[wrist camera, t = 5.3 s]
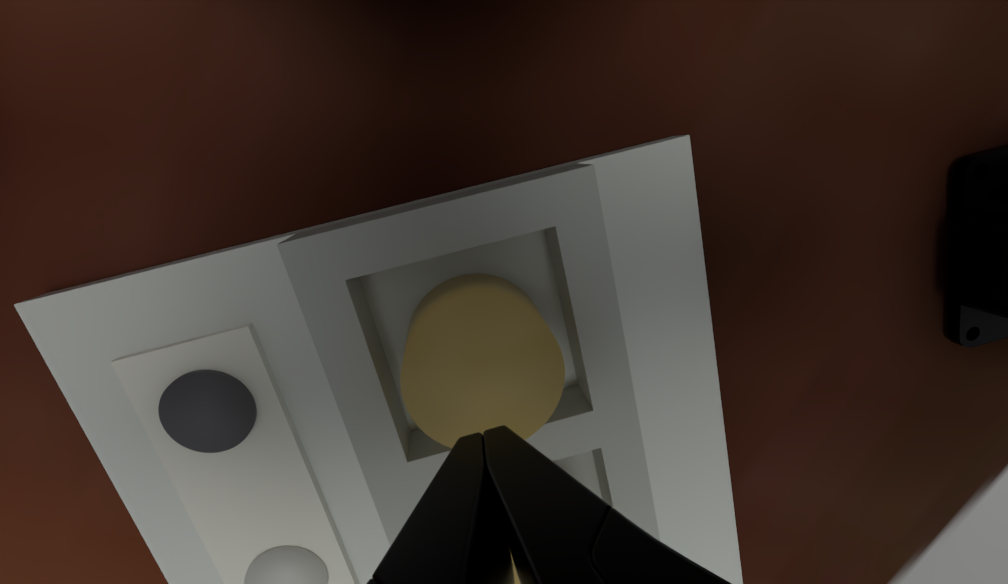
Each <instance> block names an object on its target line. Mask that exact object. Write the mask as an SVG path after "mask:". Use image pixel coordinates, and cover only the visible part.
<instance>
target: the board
mask: <svg viewBox="0 0 1008 584" xmlns="http://www.w3.org/2000/svg"><path fill="white" fill-rule="evenodd" d="M466 274H489V275H494V276H498V277H500V278H503V279H506V280H508V281H510V282H512V283H513V284H515V285H516V286H518V287H519V288H520V289H522V290H523V291H524V292H525V293H526V294H527V295H528V296H529V298H530V299H531V300H532V302H533V303H534V305H535V306H536V308H537V309H538V311H539V313H540V314H541V316H542V317H543V319H544V321H545V322H546V324H547V325H548V327H549V329H550V330H551V332H552V333H553V335H554V337H555V338H556V340H557V342H558V344H559V346H560V349H561V352H562V355H563V359H564V366H565V381H564V388H563V391H562V395H561V398H560V400H559V403H558V405H557V407H556V409H555V410H554V412H553V414H552V415H551V417H550V418H549V419H548V420H547V422H546V423H545V424H544V425H543V426H542V427H541V428H540V429H539V430H538V431H537V432H535V433H534V434H533V435H532V436H530V437H528V438H527V439H525V441H527V442H528V443H529V444H530V445H532V446H533V447H534V448H536V449H537V450H538V451H540V452H541V453H542V454H544V455H545V456H546V457H548V458H549V459H550V460H551V461H553V462H554V463H555V464H557V465H558V466H559V467H561V468H562V469H563V470H565V471H566V472H567V473H568V474H570V475H571V476H572V477H574V478H575V479H576V480H578V481H579V482H580V483H582V484H583V485H584V486H586V487H587V488H588V489H589V490H591V491H592V492H593V493H595V494H596V495H597V496H599V497H600V498H601V499H603V500H604V501H605V502H606V503H608V504H609V505H610V506H611V507H612V508H614V509H616V510H617V511H619V512H620V513H621V514H622V515H624V516H625V517H626V518H628V519H629V520H630V521H632V522H633V523H635V524H636V525H637V526H639V527H640V528H642V529H643V530H644V531H646V532H647V533H649V534H650V535H651V536H653V537H654V538H656V539H657V540H659V541H661V542H662V543H664V544H666V545H667V546H669V547H670V548H672V549H674V550H675V551H677V552H678V553H680V554H682V555H683V556H685V557H687V558H688V559H690V560H692V561H693V562H695V563H697V564H699V565H700V566H702V567H704V568H706V569H707V570H709V571H711V572H712V573H714V574H716V575H718V576H719V577H721V578H723V579H725V580H726V581H728V582H730V583H731V584H743V581H742V572H741V564H740V555H739V547H738V538H737V530H736V522H735V513H734V505H733V496H732V488H731V480H730V471H729V463H728V454H727V446H726V438H725V429H724V421H723V412H722V404H721V396H720V387H719V379H718V370H717V362H716V354H715V345H714V337H713V328H712V320H711V311H710V303H709V295H708V286H707V278H706V269H705V261H704V253H703V244H702V236H701V227H700V219H699V211H698V202H697V194H696V185H695V177H694V169H693V160H692V152H691V143H690V135H681V136H671V137H667V138H663V139H659V140H655V141H651V142H647V143H643V144H639V145H635V146H631V147H627V148H623V149H619V150H615V151H612V152H608V153H604V154H600V155H596V156H592V157H588V158H584V159H580V160H576V161H572V162H568V163H564V164H560V165H556V166H552V167H548V168H544V169H540V170H536V171H532V172H528V173H524V174H520V175H516V176H512V177H508V178H504V179H500V180H496V181H492V182H488V183H484V184H480V185H476V186H472V187H468V188H464V189H460V190H456V191H452V192H448V193H444V194H440V195H436V196H432V197H428V198H424V199H420V200H416V201H412V202H408V203H404V204H400V205H396V206H392V207H388V208H384V209H380V210H376V211H372V212H368V213H364V214H360V215H356V216H352V217H348V218H344V219H340V220H336V221H332V222H328V223H324V224H320V225H316V226H312V227H308V228H304V229H300V230H296V231H292V232H288V233H284V234H280V235H276V236H272V237H268V238H264V239H260V240H256V241H252V242H248V243H244V244H240V245H236V246H232V247H228V248H224V249H220V250H216V251H212V252H208V253H205V254H201V255H197V256H193V257H189V258H185V259H181V260H177V261H173V262H169V263H165V264H161V265H157V266H153V267H149V268H145V269H141V270H137V271H133V272H129V273H125V274H121V275H117V276H113V277H109V278H105V279H101V280H97V281H93V282H89V283H85V284H81V285H77V286H73V287H69V288H65V289H61V290H57V291H53V292H49V293H45V294H42V295H39V296H36V297H33V298H30V299H28V300H25V301H22V302H19V303H16V304H14V306H15V308H16V310H17V312H18V313H19V315H20V317H21V319H22V321H23V322H24V324H25V326H26V328H27V330H28V331H29V333H30V335H31V337H32V339H33V340H34V342H35V344H36V346H37V348H38V349H39V351H40V353H41V355H42V357H43V358H44V360H45V362H46V364H47V366H48V367H49V369H50V371H51V373H52V375H53V376H54V378H55V380H56V382H57V384H58V385H59V387H60V389H61V391H62V393H63V394H64V396H65V398H66V400H67V402H68V403H69V405H70V407H71V409H72V411H73V412H74V414H75V416H76V418H77V420H78V421H79V423H80V425H81V427H82V429H83V430H84V432H85V434H86V436H87V438H88V439H89V441H90V443H91V445H92V447H93V448H94V450H95V452H96V454H97V456H98V457H99V459H100V461H101V463H102V465H103V466H104V468H105V470H106V472H107V474H108V475H109V477H110V479H111V481H112V483H113V484H114V486H115V488H116V490H117V492H118V493H119V495H120V497H121V499H122V501H123V502H124V504H125V506H126V508H127V510H128V511H129V513H130V515H131V517H132V519H133V520H134V522H135V524H136V526H137V528H138V529H139V531H140V533H141V535H142V537H143V538H144V540H145V542H146V544H147V546H148V547H149V549H150V551H151V553H152V555H153V556H154V558H155V560H156V562H157V564H158V565H159V567H160V569H161V571H162V573H163V574H164V576H165V578H166V580H167V582H168V583H169V584H367V582H368V581H369V579H372V575H373V573H374V571H375V570H376V568H377V567H378V565H379V563H380V562H381V560H382V559H383V557H384V556H385V554H386V552H387V551H388V549H389V548H390V546H391V544H392V543H393V541H394V540H395V538H396V537H397V535H398V533H399V532H400V530H401V529H402V527H403V525H404V524H405V522H406V521H407V519H408V517H409V516H410V514H411V513H412V511H413V510H414V508H415V506H416V505H417V503H418V502H419V500H420V498H421V497H422V495H423V494H424V492H425V491H426V489H427V487H428V486H429V484H430V483H431V481H432V479H433V478H434V476H435V475H436V473H437V472H438V470H439V468H440V467H441V465H442V464H443V462H444V460H445V459H446V457H447V456H448V454H449V453H450V451H451V449H452V448H450V447H447V446H445V445H442V444H441V443H439V442H437V441H435V440H433V439H432V438H431V437H429V436H428V435H426V434H425V433H424V432H423V431H422V430H421V429H420V428H419V427H418V426H417V424H416V423H415V422H414V421H413V419H412V418H411V416H410V414H409V413H408V411H407V409H406V406H405V404H404V401H403V397H402V393H401V384H400V377H401V368H402V362H403V357H404V351H405V345H406V340H407V334H408V329H409V324H410V321H411V318H412V315H413V313H414V311H415V309H416V307H417V306H418V304H419V303H420V301H421V300H422V299H423V298H424V297H425V296H426V295H427V293H429V292H430V291H431V290H432V289H433V288H435V287H436V286H438V285H439V284H441V283H442V282H445V281H447V280H449V279H451V278H454V277H457V276H461V275H466Z"/></svg>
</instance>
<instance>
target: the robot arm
mask: <svg viewBox="0 0 1008 584" xmlns="http://www.w3.org/2000/svg"><path fill="white" fill-rule="evenodd" d="M974 169H975V171H974ZM973 172H974V174H973ZM948 336H949V339H950V340H951V342H954V343H957V344H959V345H962V346H965V347H974V346H978V345H981V344H985V343H988V342H992V341H995V340H999V339H1002V338H1006V337H1008V145H1006V146H1002V147H998V148H994V149H991V150H987V151H983V152H979V153H975V154H971V155H968V156H966V157H964V158H962V159H961V160H960V161H959V162H958V163H957V165H956V167H955V168H954V173H953V190H952V222H951V254H950V286H949V318H948ZM511 555H512V557H511ZM512 558H513V562H514V565H515V568H516V572H517V575H518V578H519V581H520V584H731V583H730V582H728V581H726V580H725V579H723V578H721V577H719V576H718V575H716V574H714V573H712V572H711V571H709V570H707V569H706V568H704V567H702V566H700V565H699V564H697V563H695V562H693V561H692V560H690V559H688V558H687V557H685V556H683V555H682V554H680V553H678V552H677V551H675V550H674V549H672V548H670V547H669V546H667V545H666V544H664V543H662V542H661V541H659V540H657V539H656V538H654V537H653V536H651V535H650V534H649V533H647V532H646V531H644V530H643V529H642V528H640V527H639V526H637V525H636V524H635V523H633V522H632V521H630V520H629V519H628V518H626V517H625V516H624V515H622V514H621V513H620V512H619V511H617V510H616V509H614V508H612V507H611V506H610V505H609V504H608V503H606V502H605V501H604V500H603V499H601V498H600V497H599V496H597V495H596V494H595V493H593V492H592V491H591V490H589V489H588V488H587V487H586V486H584V485H583V484H582V483H580V482H579V481H578V480H576V479H575V478H574V477H572V476H571V475H570V474H568V473H567V472H566V471H565V470H563V469H562V468H561V467H559V466H558V465H557V464H555V463H554V462H553V461H551V460H550V459H549V458H548V457H546V456H545V455H544V454H542V453H541V452H540V451H538V450H537V449H536V448H534V447H533V446H532V445H530V444H529V443H528V442H527V441H525V440H524V439H523V438H521V437H520V436H519V435H517V434H516V433H515V432H513V431H512V430H511V429H509V428H508V427H507V426H505V425H502V426H498V427H495V428H491V429H487V430H485V431H484V432H483V435H482V433H480V432H477V433H473V434H469V435H466V436H462V437H460V438H459V439H458V440H457V441H456V443H455V445H454V446H453V448H452V449H451V451H450V453H449V454H448V456H447V457H446V459H445V460H444V462H443V464H442V465H441V467H440V468H439V470H438V472H437V473H436V475H435V476H434V478H433V479H432V481H431V483H430V484H429V486H428V487H427V489H426V491H425V492H424V494H423V495H422V497H421V498H420V500H419V502H418V503H417V505H416V506H415V508H414V510H413V511H412V513H411V514H410V516H409V517H408V519H407V521H406V522H405V524H404V525H403V527H402V529H401V530H400V532H399V533H398V535H397V537H396V538H395V540H394V541H393V543H392V544H391V546H390V548H389V549H388V551H387V552H386V554H385V556H384V557H383V559H382V560H381V562H380V563H379V565H378V567H377V568H376V570H375V571H374V573H373V575H372V579H369V581H368V582H367V584H515V581H514V571H513V563H512Z"/></svg>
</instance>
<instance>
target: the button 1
mask: <svg viewBox="0 0 1008 584" xmlns="http://www.w3.org/2000/svg"><path fill="white" fill-rule="evenodd" d="M564 381H565V366H564V359H563V355H562V352H561V349H560V346H559V344H558V342H557V340H556V338H555V337H554V335H553V333H552V332H551V330H550V329H549V327H548V325H547V324H546V322H545V321H544V319H543V317H542V316H541V314H540V313H539V311H538V309H537V308H536V306H535V305H534V303H533V302H532V300H531V299H530V298H529V296H528V295H527V294H526V293H525V292H524V291H523V290H522V289H520V288H519V287H518V286H516V285H515V284H513V283H512V282H510V281H508V280H506V279H503V278H500V277H498V276H494V275H489V274H466V275H461V276H457V277H454V278H451V279H449V280H447V281H445V282H442V283H441V284H439V285H438V286H436V287H435V288H433V289H432V290H431V291H430V292H429V293H427V295H426V296H425V297H424V298H423V299H422V300H421V301H420V303H419V304H418V306H417V307H416V309H415V311H414V313H413V315H412V318H411V321H410V324H409V329H408V334H407V340H406V345H405V351H404V357H403V362H402V368H401V377H400V384H401V393H402V397H403V401H404V404H405V406H406V409H407V411H408V413H409V414H410V416H411V418H412V419H413V421H414V422H415V423H416V424H417V426H418V427H419V428H420V429H421V430H422V431H423V432H424V433H425V434H426V435H428V436H429V437H431V438H432V439H433V440H435V441H437V442H439V443H441V444H442V445H445V446H447V447H450V448H453V446H454V445H455V443H456V441H457V440H458V439H459V438H460V437H462V436H466V435H469V434H473V433H477V432H480V433H482V435H483V432H484V431H485V430H487V429H491V428H495V427H498V426H502V425H505V426H507V427H508V428H509V429H511V430H512V431H513V432H515V433H516V434H517V435H519V436H520V437H521V438H523V439H524V440H525V439H527V438H528V437H530V436H532V435H533V434H534V433H535V432H537V431H538V430H539V429H540V428H541V427H542V426H543V425H544V424H545V423H546V422H547V420H548V419H549V418H550V417H551V415H552V414H553V412H554V410H555V409H556V407H557V405H558V403H559V400H560V398H561V395H562V391H563V388H564Z"/></svg>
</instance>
